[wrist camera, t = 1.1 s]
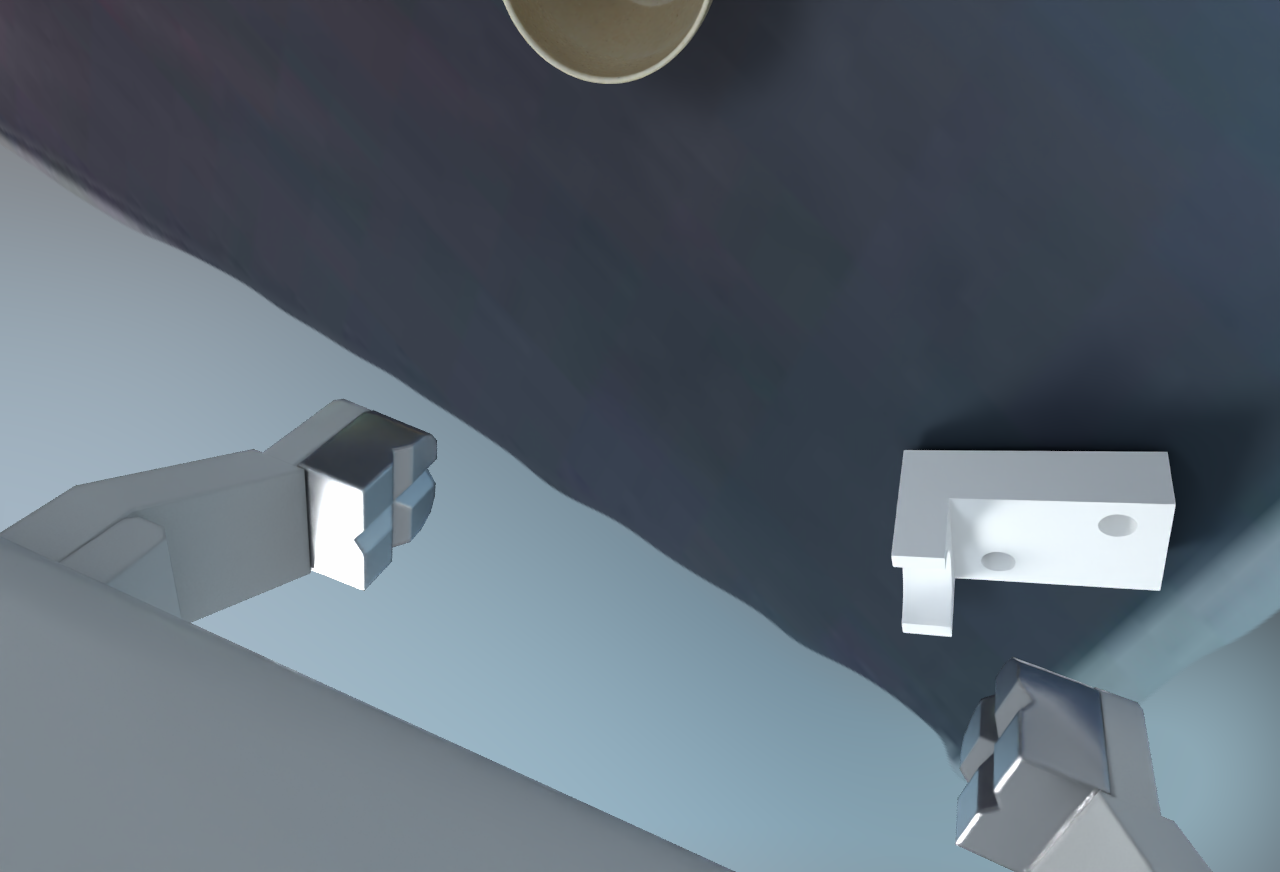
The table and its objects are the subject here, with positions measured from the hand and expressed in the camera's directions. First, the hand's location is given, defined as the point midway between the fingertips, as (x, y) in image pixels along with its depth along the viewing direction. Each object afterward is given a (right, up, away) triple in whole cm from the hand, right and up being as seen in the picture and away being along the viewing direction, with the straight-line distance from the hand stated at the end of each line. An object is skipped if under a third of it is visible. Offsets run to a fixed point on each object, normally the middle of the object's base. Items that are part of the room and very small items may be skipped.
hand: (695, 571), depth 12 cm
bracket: (+22, -2, +38) cm, 44 cm away
